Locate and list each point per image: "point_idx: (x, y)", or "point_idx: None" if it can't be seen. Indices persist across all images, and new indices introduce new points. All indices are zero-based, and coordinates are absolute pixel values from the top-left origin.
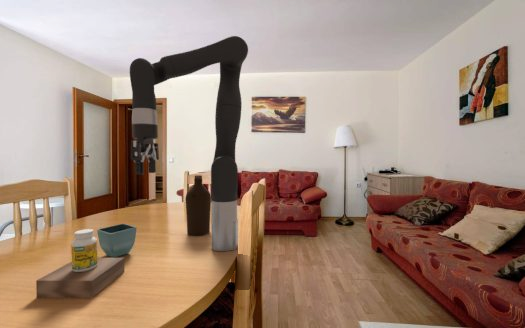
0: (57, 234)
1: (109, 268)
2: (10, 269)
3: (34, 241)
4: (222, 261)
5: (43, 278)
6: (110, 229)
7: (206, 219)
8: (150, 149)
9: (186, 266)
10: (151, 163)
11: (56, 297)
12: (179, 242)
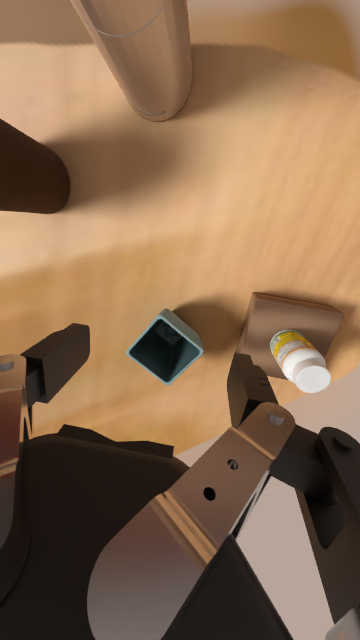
0: None
1: (301, 306)
2: (205, 436)
3: None
4: (254, 77)
5: None
6: (151, 365)
7: (24, 134)
8: (37, 499)
9: (260, 175)
10: (53, 375)
11: None
12: (115, 222)
